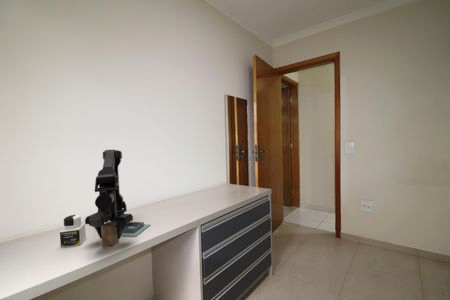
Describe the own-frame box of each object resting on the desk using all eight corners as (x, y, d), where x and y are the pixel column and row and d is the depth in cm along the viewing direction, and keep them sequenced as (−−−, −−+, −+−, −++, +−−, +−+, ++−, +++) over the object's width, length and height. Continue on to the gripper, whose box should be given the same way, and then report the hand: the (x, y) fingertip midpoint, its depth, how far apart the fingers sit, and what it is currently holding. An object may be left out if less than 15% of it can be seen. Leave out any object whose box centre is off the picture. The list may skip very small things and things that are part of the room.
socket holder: (110, 236, 97) (110, 230, 96) (127, 224, 109) (127, 220, 109) (135, 236, 95) (135, 231, 94) (150, 225, 107) (150, 220, 107)
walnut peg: (102, 246, 86) (100, 225, 86) (109, 241, 91) (108, 221, 91) (111, 247, 86) (110, 226, 85) (118, 242, 90) (117, 221, 90)
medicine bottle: (60, 248, 87) (58, 220, 86) (68, 240, 93) (66, 214, 93) (80, 245, 89) (78, 217, 88) (86, 238, 95) (84, 212, 95)
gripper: (72, 208, 81) (74, 247, 82) (115, 208, 78) (117, 249, 79) (94, 200, 92) (96, 234, 93) (132, 200, 89) (134, 236, 90)
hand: (110, 238), depth 88 cm, fingers open, 8 cm apart
